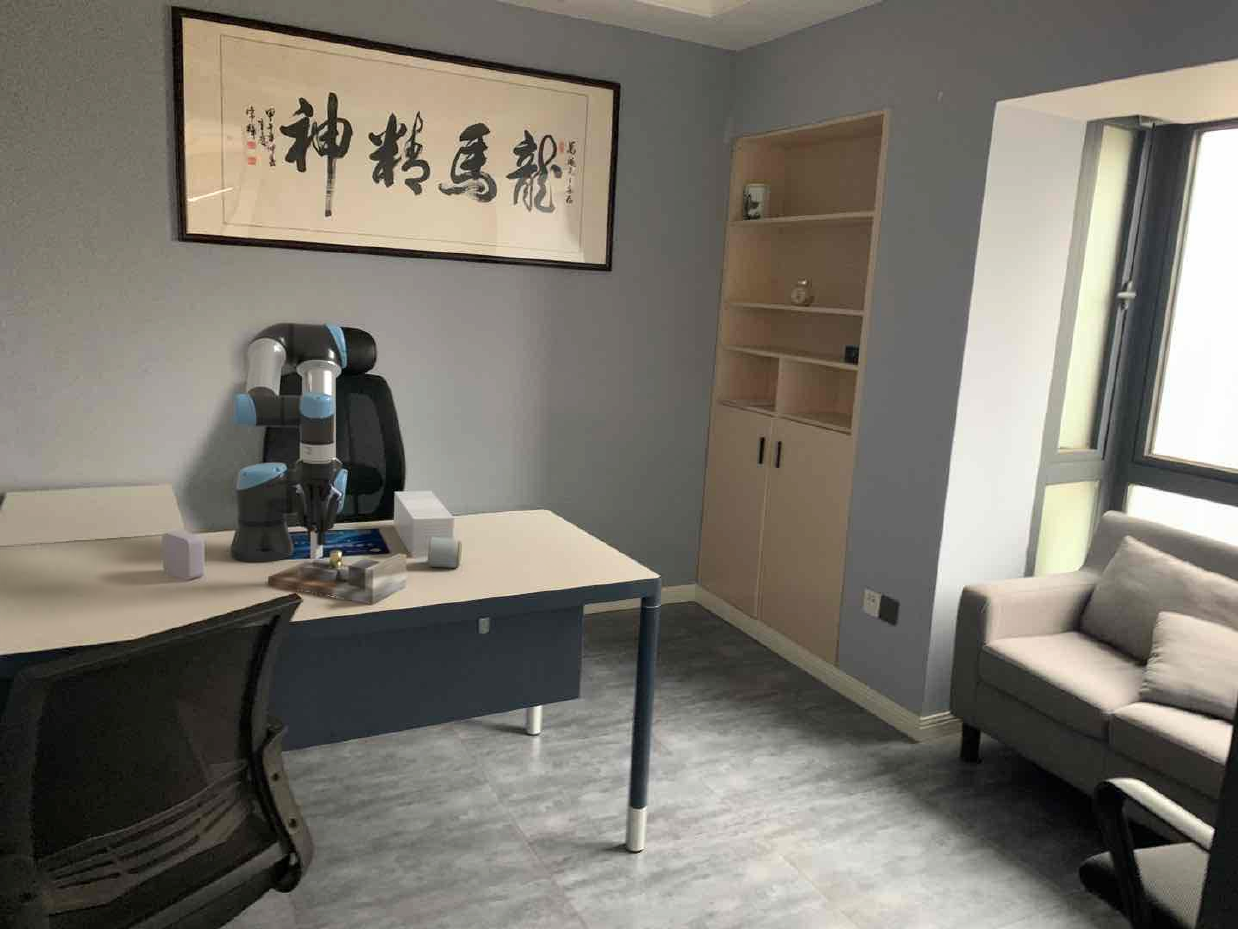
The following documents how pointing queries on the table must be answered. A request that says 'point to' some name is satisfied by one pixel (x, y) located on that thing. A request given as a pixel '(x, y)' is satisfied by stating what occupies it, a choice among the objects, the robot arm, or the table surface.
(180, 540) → the electronic device
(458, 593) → the table surface
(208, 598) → the table surface
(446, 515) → the stack of papers
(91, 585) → the table surface
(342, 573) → the bolt
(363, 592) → the lock board
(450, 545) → the ceramic mug
